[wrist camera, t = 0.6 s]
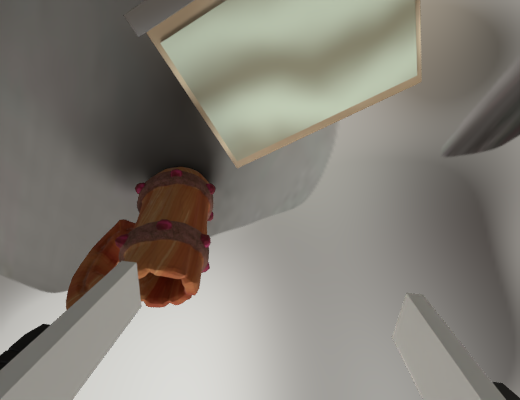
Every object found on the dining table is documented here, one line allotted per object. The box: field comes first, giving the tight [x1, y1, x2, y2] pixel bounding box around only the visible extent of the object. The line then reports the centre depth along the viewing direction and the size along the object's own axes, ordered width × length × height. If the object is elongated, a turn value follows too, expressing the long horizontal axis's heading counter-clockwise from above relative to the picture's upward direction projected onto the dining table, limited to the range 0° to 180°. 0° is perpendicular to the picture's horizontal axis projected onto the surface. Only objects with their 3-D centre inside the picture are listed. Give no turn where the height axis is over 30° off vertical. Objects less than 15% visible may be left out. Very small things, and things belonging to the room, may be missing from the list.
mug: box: [66, 167, 215, 310], centre depth 25 cm, size 15×8×15 cm, turn 110°
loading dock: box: [123, 0, 421, 168], centre depth 19 cm, size 14×18×6 cm
